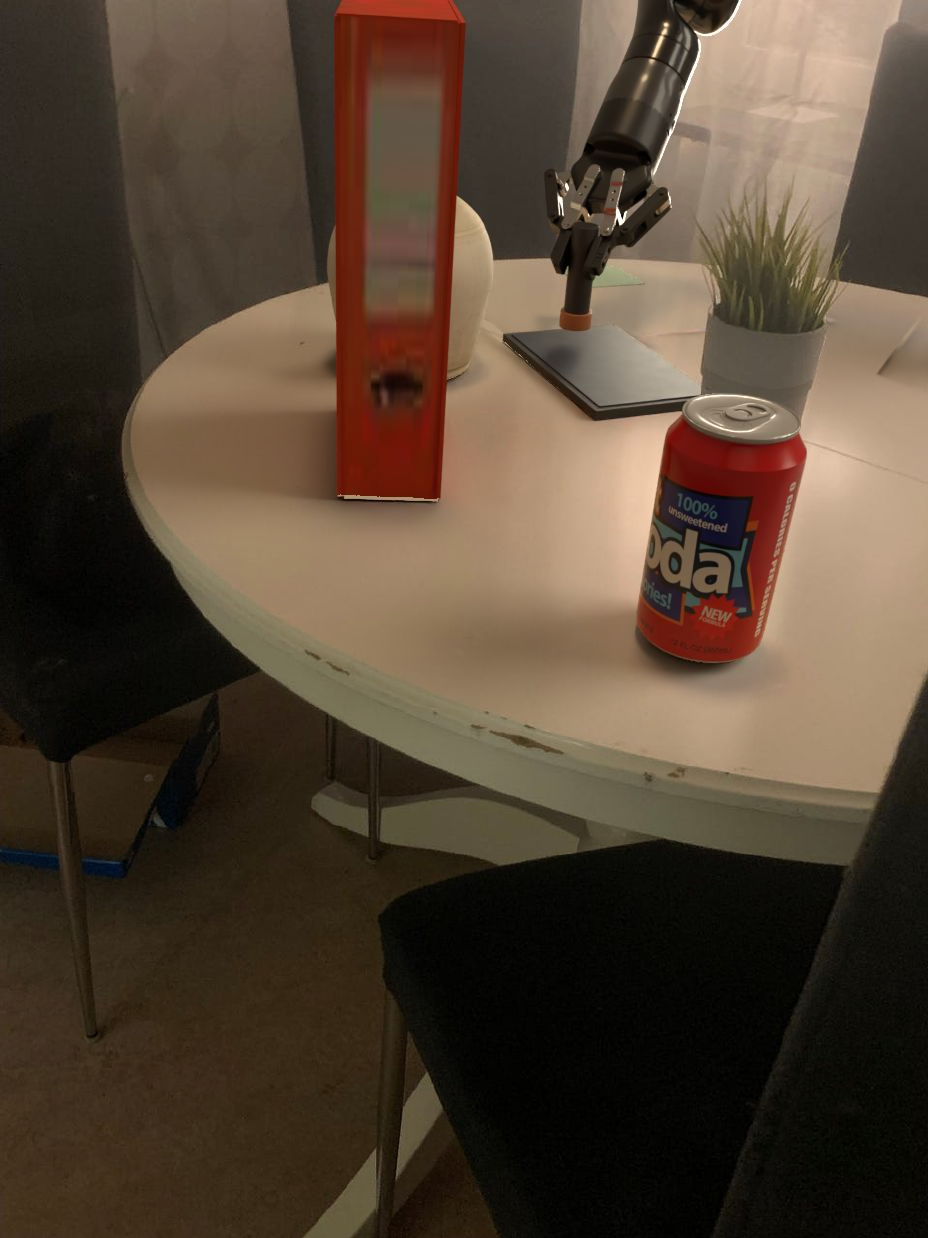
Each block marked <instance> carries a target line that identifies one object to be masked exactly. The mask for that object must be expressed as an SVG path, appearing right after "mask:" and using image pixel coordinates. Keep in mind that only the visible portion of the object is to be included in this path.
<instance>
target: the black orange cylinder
mask: <svg viewBox="0 0 928 1238" xmlns="http://www.w3.org/2000/svg"><path fill="white" fill-rule="evenodd" d="M599 232H600V226H599V224H596V223H593V222H590V223H589V222H576V223H573V225H572V233H571V243H570V253H569V263H568V267H567V268H568V272H567V275H566V283H565V284H566V285H565V291H564V292H565V293H564V303H563V307H561V308H560V312H559V323H558V325H559V327H560V329H565V330H569V331H586V330H589V329H590V327H591V326H592V317H593V311H592V309H591V301H592V292H593V288H592V285H593V281H591V280H586V278H585V275H584V273H583V267H584V264H585V261H586V259H587V256H588V254H589V251H590V249H591V247H592V244H593V242H594V239H595V237H596V236H599V234H600V233H599Z"/></svg>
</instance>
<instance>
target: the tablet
mask: <svg viewBox="0 0 928 1238" xmlns="http://www.w3.org/2000/svg"><path fill="white" fill-rule="evenodd" d="M503 341H504V342H506V343H507V344H508V345H509V346H510V347H511V348H512V349H513V350H514V351H516V352H517V353H518V354H520V355H521V356H522V357H523V358H524V359H525V360H527V361H528V363H529V364H531V366H533V367H534V368H535V369H536V370H537V371H538V372H537V371H536V370H535V369H534V368H533V367H532V368H533V369H534V370H535V371H536V372H537V373H539V372H540V373H541V374H542V375H543V376H544V377H545V378H544V377H543V376H542V375H541V374H540V373H539V374H540V375H541V376H542V377H543V378H544V379H546V380H547V381H548V380H549V381H550V382H551V383H552V385H553V384H554V385H555V386H556V387H558V388H559V389H560V390H561V391H562V392H563V393H564V394H565V395H564V394H563V393H562V392H561V391H560V390H559V389H558V390H559V391H560V392H561V393H562V394H563V395H564V396H565V397H566V398H568V397H569V398H570V399H571V400H572V401H571V400H570V399H569V398H568V399H569V400H570V401H571V402H573V403H574V404H575V403H576V404H577V405H578V406H577V405H576V404H575V405H576V406H577V407H578V408H580V409H581V410H582V411H583V412H584V411H585V412H584V413H586V414H587V413H588V414H589V415H590V416H591V417H592V418H591V417H590V416H589V415H588V414H587V415H588V416H589V417H590V418H591V419H593V421H601V420H600V419H603V420H607V419H606V418H611V419H617V418H616V417H619V418H628V417H635V416H636V417H637V416H644V415H653V414H661V413H662V414H663V413H670V412H679V411H680V412H681V411H682V408H683V405H684V404H685V403H686V402H687V401H688V400H689V399H691V398H694V397H696V396H700V394H701V384H702V383H701V382H699V381H698V380H697V379H695V378H694V377H693V376H691V375H689V374H687V372H685V371H684V370H682V369H681V368H679V367H678V366H676V365H675V364H673V363H672V362H670V361H669V360H667V359H666V358H664V357H663V356H661V355H660V354H658V353H657V352H656V351H654V350H652V349H651V348H650V347H648V346H647V345H645V344H644V343H643V342H641V341H639V340H638V339H636V338H635V337H633V336H632V335H631V334H629V333H627V332H626V331H624V330H623V329H622V328H621V327H619V326H617V325H615V324H601V325H591V327H590V329H589V330H586V331H569V330H565V329H563V328H556V329H541V330H531V331H520V332H519V331H518V332H507V333H503V334H502V342H503ZM512 349H511V350H512ZM513 350H512V351H513ZM514 351H513V352H514ZM528 363H527V364H528ZM529 364H528V365H529ZM531 366H530V367H531ZM549 381H548V382H549ZM550 382H549V383H550ZM551 383H550V384H551ZM554 385H553V386H554ZM555 386H554V387H555ZM556 387H555V388H556ZM604 418H605V419H604ZM619 418H618V419H619Z"/></svg>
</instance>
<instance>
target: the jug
mask: <svg viewBox="0 0 928 1238" xmlns="http://www.w3.org/2000/svg"><path fill="white" fill-rule="evenodd" d="M326 273H327V281H328V288H329V293H330V297H331V304H332V309H333V314H334V318H335V320H336V246H335V226H334V227H333V230H332V232H331V236H330V240H329V243H328V249H327V262H326ZM493 278H494V255H493V247H492V243H491V241H490V236H489V234H488V231H487V228H486V226H485V223H484V222H483V221H482V218H481V217H480V216H479V214H478V213H477V212H476V211H475V210H474V209H473V208H472V206H470V205H469V204H468V203H467V202H466V201H464V200H463V199H462V198H461V197H459V196H458V195H457V200H456V218H455V237H454V256H453V275H452V293H451V312H450V331H449V350H448V369H447V379H449V378H452V377H455V376H458V375H460V374H461V375H462V373H463V372H464V373H465V372H466V371H468V369H469V367H470V364H471V360H472V359H473V357H474V354H475V351H476V348H477V345H478V342H479V338H480V334H481V331H482V326H483V324H484V318H485V314H486V310H487V306H488V301H489V298H490V295H491V289H492V285H493V280H494V279H493ZM464 373H463V374H464ZM461 375H460V376H461ZM458 377H459V376H458Z"/></svg>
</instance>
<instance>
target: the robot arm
mask: <svg viewBox="0 0 928 1238" xmlns="http://www.w3.org/2000/svg"><path fill="white" fill-rule="evenodd" d="M741 1H742V0H637V7H636V8H637V11H636V17H635V25H634V29H633V35H632V36H631V39H630V42H629V45H628V47H627V50H626V52H625V54H624V57H623V58H622V61H621V64H620V66H619V69H618V70H617V72H616V74H615V76H614V77H613V79H612V81H611V83H610V84H609V86H608V88H607V91H606V93H605V96H604V98H603V101H602V103H601V105H600V107H599V110H598V113H597V115H596V117H595V119H594V122H593V123H592V127H591V129H590V132H589V133H588V136H587V138H586V141H585V144H584V146H583V150H582V153H581V155H580V157H579V159H577V160H576V161H575V162H574V163H573V164H572V166H571V168H570V169H568V170H565V171H561V172H556V169H554V168H548V169H546V170H545V171H544V173H543V179H544V193H545V203H546V204H545V205H546V217H547V220H548V222H549V225H550V227H551V231H552V232H553V234H555V235H558V236H557V238H556V240H555V243H554V246H553V248H552V250H551V253H550V261H551V263H552V264H551V265H552V266H553V269H554V271H555V274H557V275H562V276H563V275H565V272H566V269H567V268H568V263H569V253H570V243H571V233H572V225H573V223H576V222H589V223H591V221H592V220H593V218H594V216H595V215H600V214H602V215H603V219H602V223H601V226H600V229H599V232H600V233H599V235H598V236H596V237H595V239H594V242H593V244H592V247H591V249H590V251H589V254H588V256H587V259H586V261H585V264H584V267H583V273H584V275H585V278H586V280H591V281H594V279H595V277H596V276H600V275H601V274H602V273H603V271H604V268H605V266H607V263H608V261H609V259H610V256H611V253H612V251H613V250H614V249H616V247H619V246H624V247H625V248H628V249H629V248H632V247H634V246H635V245H636V244H637V243H638V242H639V241H640V240H641V239H642V238H643V237H644V236H645V235H646V234H647V233H648V232H649V231H650V230H652V229H653V228H654V226H656V225H657V224H658V223H659V222H660V221H661V220H662V219H663V218H664V217H665V216H667V214H668V213H669V212H670V211H671V209H672V204H671V196H670V193H669V189H668V188H667V187H665V186H660V187H659V186H657V185H656V184H655V183H654V176H655V174H656V173H657V169H658V167H659V165H660V162H661V159H662V157H663V155H664V152H665V149H666V147H667V145H668V142H669V140H670V137H671V135H672V134H673V132H674V130H675V128H676V124H677V120H678V117H679V115H680V110H681V107H682V103H683V99H684V96H685V94H686V92H687V89H688V86H689V84H690V82H691V78H692V76H693V74H694V71H695V69H696V67H697V63H698V61H699V58H700V55H701V54H700V53H701V42H700V39H699V37H698V35H701V36H704V37H705V36H706V37H708V36H712V35H715V34H717V33H719V32H720V31H722V30H723V29H724V28H726V27H727V26H728V25H729V23H730V22H731V21H732V20H733V18H734V17H735V15H736V13H737V11H738V9H739V6H740V4H741ZM572 184H573V186H574V189H575V193H574V195H573V197H572V199H571V200H570V207H569V209H568V210H567V212H566V214H565V215H564V206H563V198H565V197H566V196H567V193H568V192H569V187H570V186H571V185H572ZM641 201H643V203H642V204H641V205H639V207H637V209H635V211H633V212H632V214H630V215H629V216H628V217H627V218H626V215H627V212H628V211H629V210H631V209H632V208H633V207H635V206H636V205H638V204H639V203H640V202H641Z"/></svg>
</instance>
